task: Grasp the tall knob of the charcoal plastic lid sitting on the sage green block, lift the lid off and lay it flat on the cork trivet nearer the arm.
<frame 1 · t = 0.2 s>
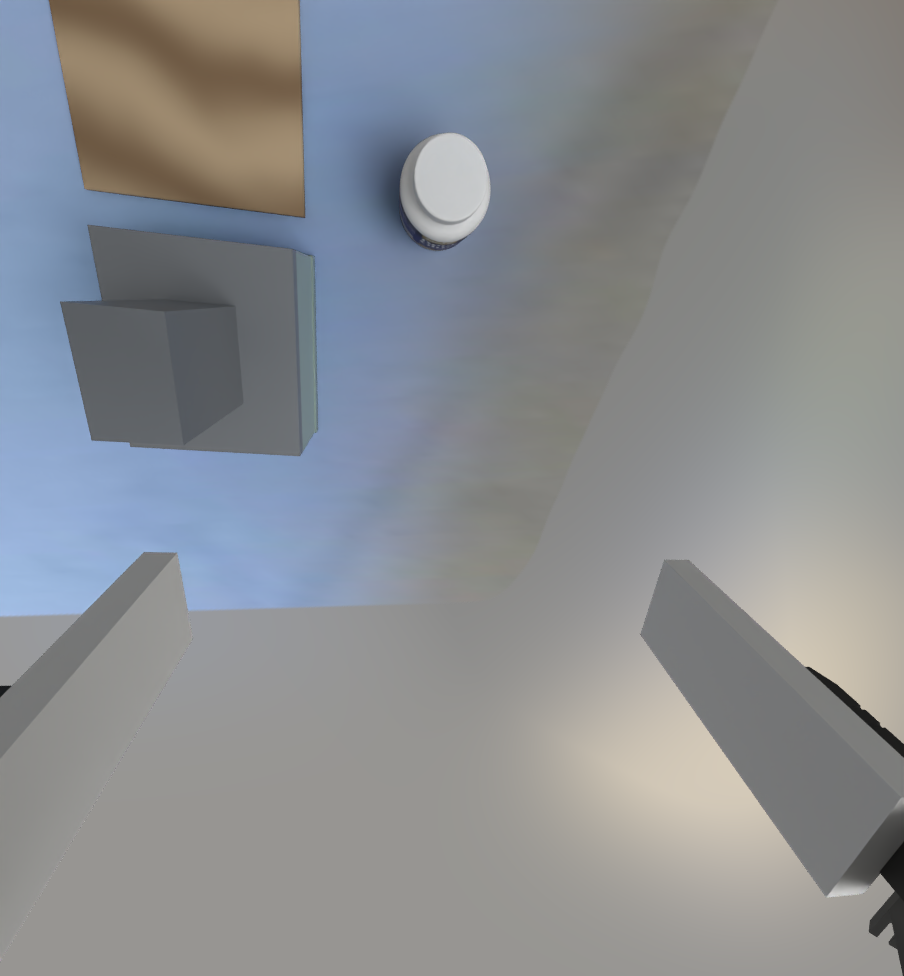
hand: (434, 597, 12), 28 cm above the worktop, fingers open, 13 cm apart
lid: (212, 352, 29), point 6 cm above the worktop, touching sage green block
sage green block: (242, 343, 34), on the worktop
pill bottle: (436, 210, 32), on the worktop
trivet: (184, 54, 27), on the worktop
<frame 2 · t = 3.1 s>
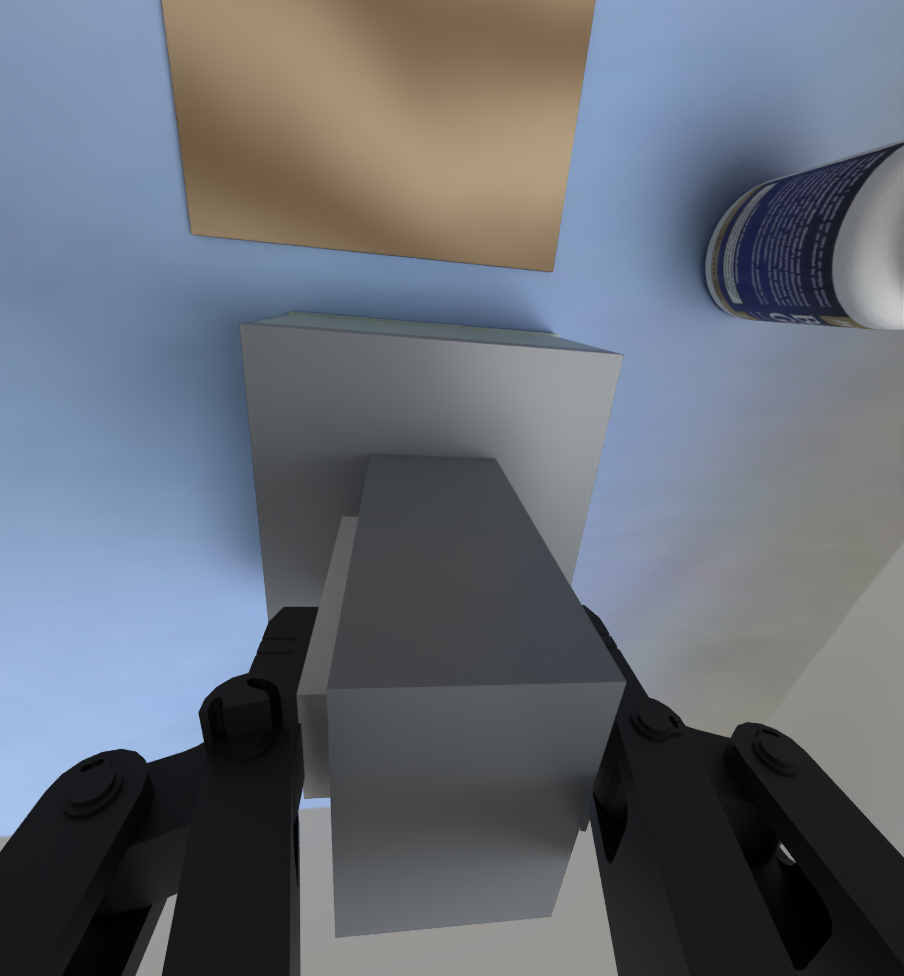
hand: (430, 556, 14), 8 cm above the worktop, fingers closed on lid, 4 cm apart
lid: (426, 524, 16), point 6 cm above the worktop, touching sage green block, gripper
sage green block: (419, 466, 22), on the worktop
pill bottle: (756, 254, 20), on the worktop
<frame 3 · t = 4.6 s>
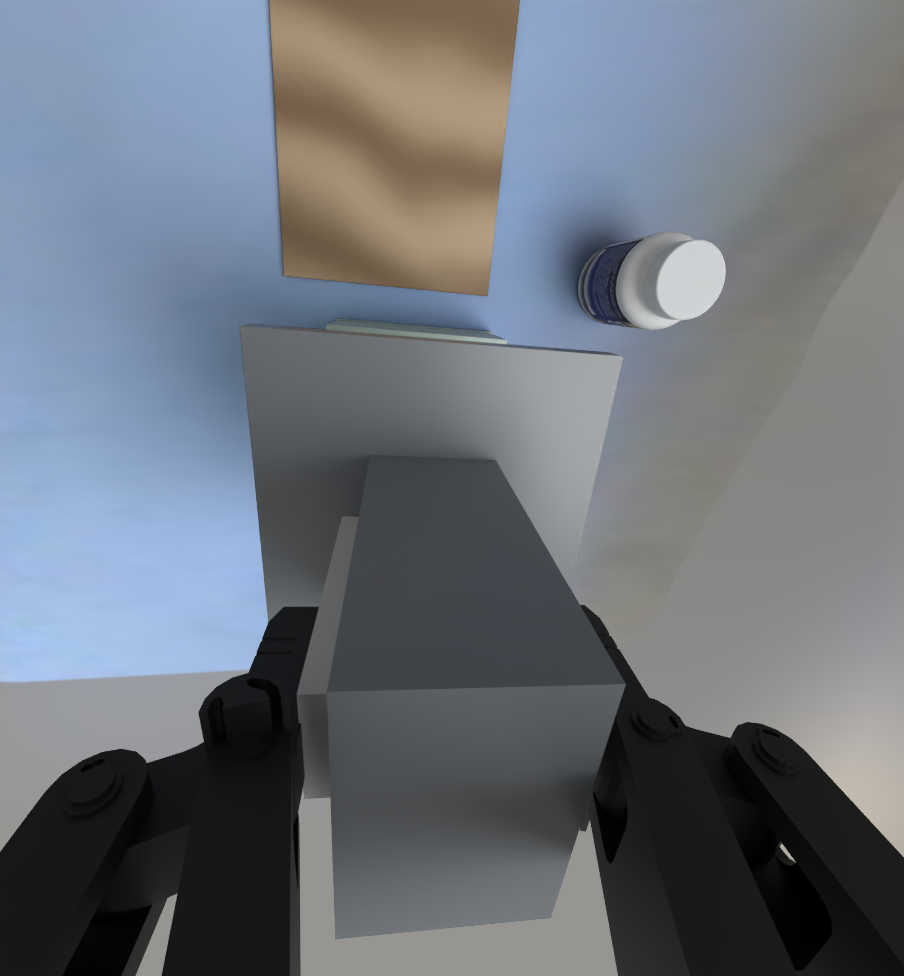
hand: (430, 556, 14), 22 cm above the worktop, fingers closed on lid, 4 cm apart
lid: (426, 526, 16), point 20 cm above the worktop, touching gripper
sage green block: (410, 413, 35), on the worktop
pill bottle: (610, 285, 33), on the worktop
trivet: (393, 148, 28), on the worktop
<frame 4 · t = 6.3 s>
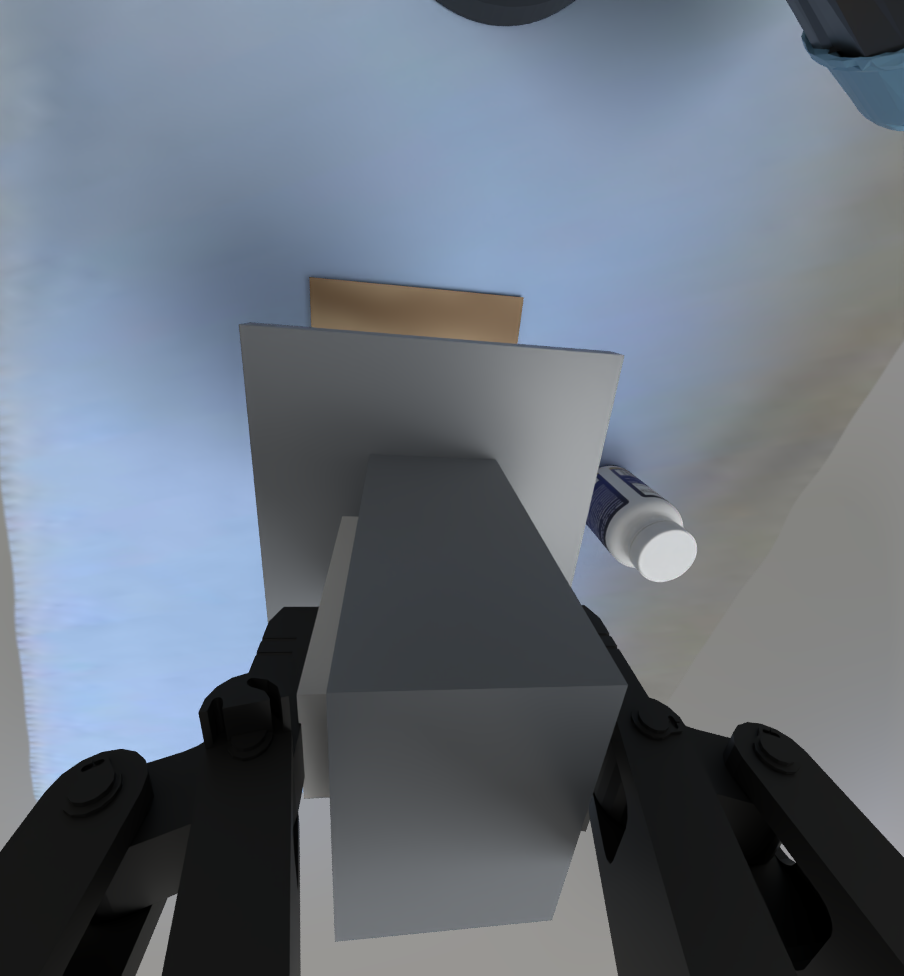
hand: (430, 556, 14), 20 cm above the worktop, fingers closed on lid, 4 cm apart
lid: (426, 525, 16), point 18 cm above the worktop, touching gripper
pill bottle: (602, 493, 37), on the worktop
trivet: (413, 406, 32), on the worktop
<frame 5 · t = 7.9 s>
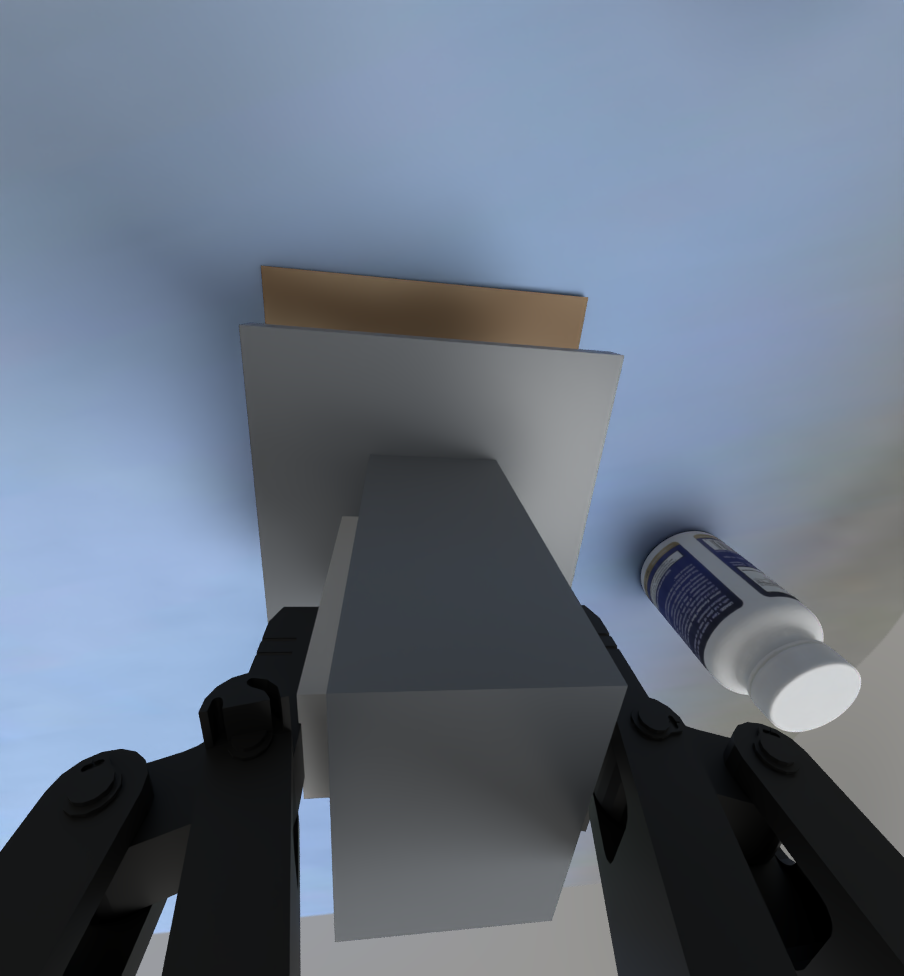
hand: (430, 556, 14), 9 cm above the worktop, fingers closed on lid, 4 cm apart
lid: (426, 526, 16), point 7 cm above the worktop, touching gripper
pill bottle: (678, 564, 27), on the worktop
trivet: (421, 455, 22), on the worktop
when the fingers open (4 cm above the worktop, at t = 9.4 s): lid drops 1 cm, resting on trivet.
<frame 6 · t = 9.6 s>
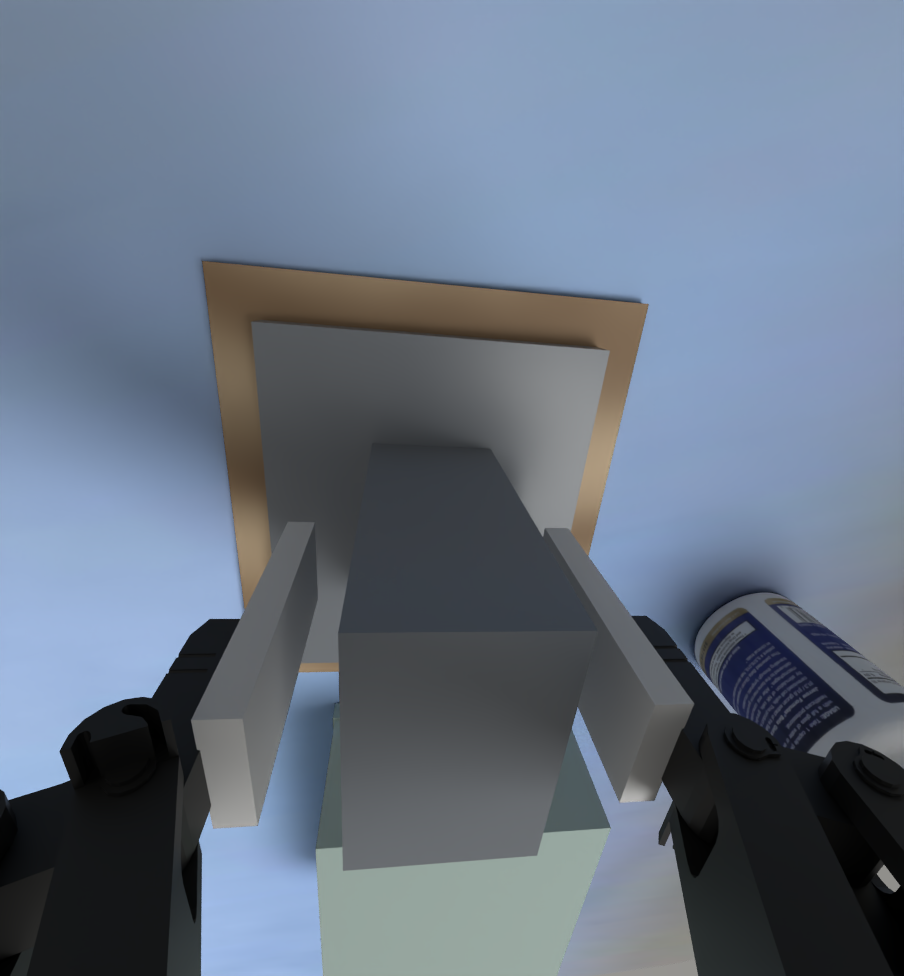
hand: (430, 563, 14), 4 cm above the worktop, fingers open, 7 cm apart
lid: (425, 512, 17), resting on trivet
sage green block: (442, 787, 24), on the worktop
pill bottle: (739, 630, 22), on the worktop
trivet: (424, 508, 17), on the worktop
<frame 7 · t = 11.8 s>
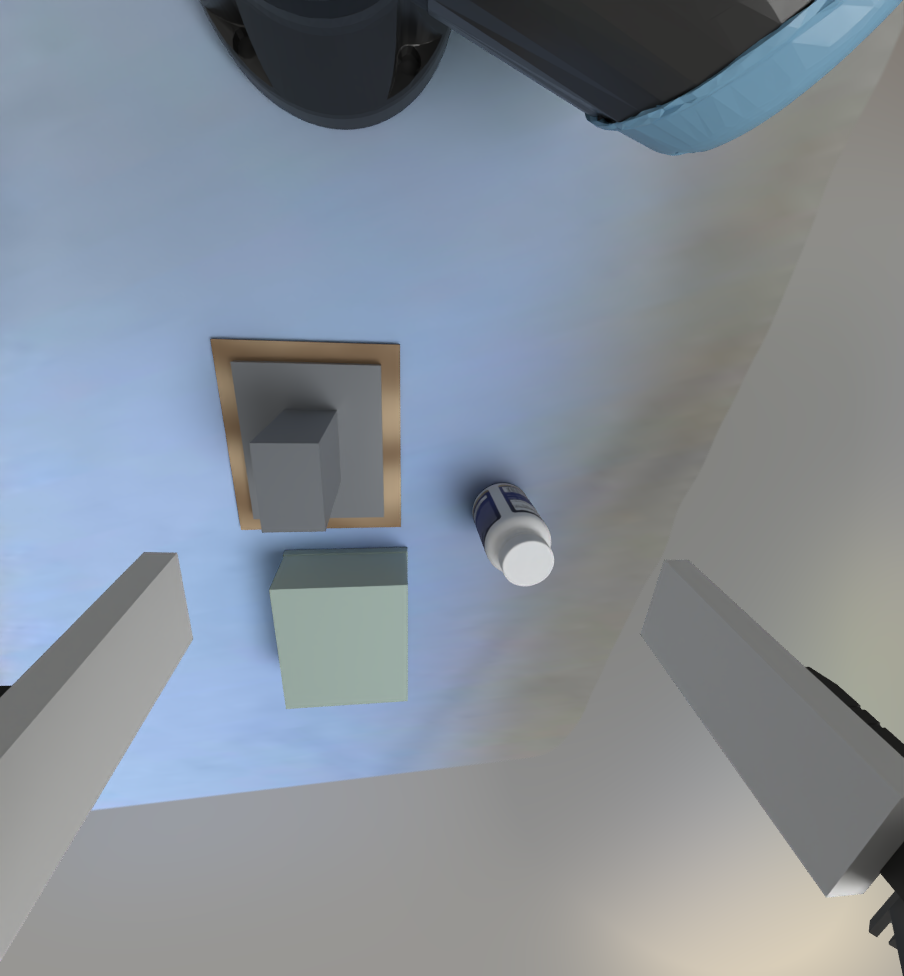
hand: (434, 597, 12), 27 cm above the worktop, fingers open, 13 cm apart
lid: (315, 442, 37), resting on trivet
sage green block: (350, 606, 44), on the worktop
pill bottle: (499, 507, 42), on the worktop
trivet: (316, 441, 37), on the worktop
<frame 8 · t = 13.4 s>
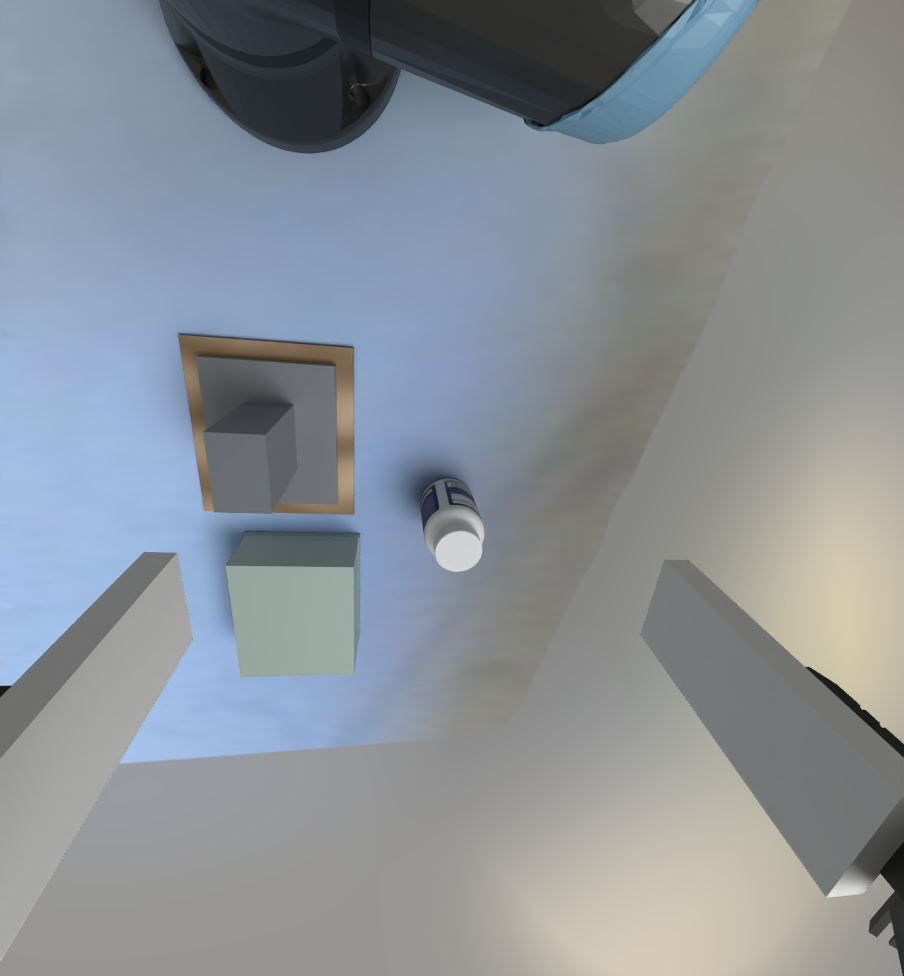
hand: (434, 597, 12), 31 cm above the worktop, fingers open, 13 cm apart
lid: (275, 433, 40), resting on trivet
sage green block: (306, 586, 47), on the worktop
pill bottle: (446, 500, 45), on the worktop
trivet: (276, 432, 41), on the worktop
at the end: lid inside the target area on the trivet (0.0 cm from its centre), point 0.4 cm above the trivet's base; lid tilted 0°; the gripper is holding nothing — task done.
